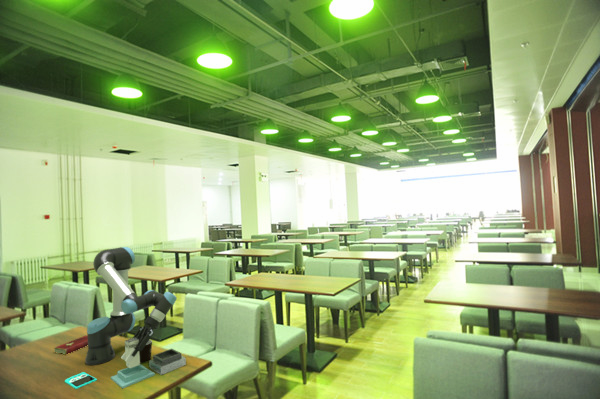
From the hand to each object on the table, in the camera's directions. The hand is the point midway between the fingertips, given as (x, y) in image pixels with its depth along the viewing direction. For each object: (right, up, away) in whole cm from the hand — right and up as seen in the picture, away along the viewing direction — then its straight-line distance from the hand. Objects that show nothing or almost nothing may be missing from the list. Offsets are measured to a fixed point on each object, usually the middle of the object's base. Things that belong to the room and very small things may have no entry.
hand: (125, 360), depth 175 cm
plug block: (+3, -4, +3) cm, 5 cm away
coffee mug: (0, -11, +24) cm, 26 cm away
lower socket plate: (+2, -10, +3) cm, 11 cm away
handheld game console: (-25, -13, +3) cm, 28 cm away
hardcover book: (-58, -15, +50) cm, 78 cm away
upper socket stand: (+17, -9, +13) cm, 23 cm away
